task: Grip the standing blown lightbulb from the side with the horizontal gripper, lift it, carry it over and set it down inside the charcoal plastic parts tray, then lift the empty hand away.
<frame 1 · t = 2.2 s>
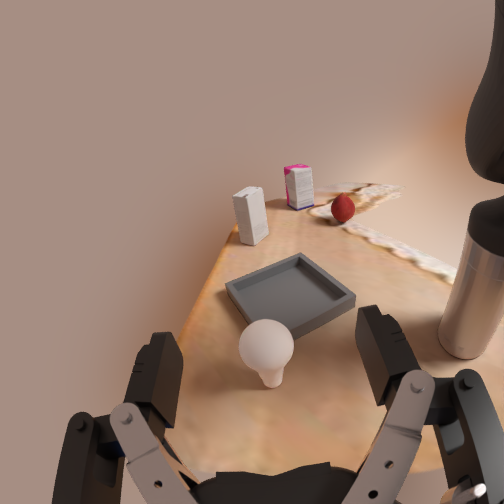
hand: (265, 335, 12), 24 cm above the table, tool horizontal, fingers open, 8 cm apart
supplement box: (300, 205, 81), on the table
parts tray: (288, 300, 49), on the table
lightbulb: (273, 383, 35), on the table
onion: (343, 223, 69), on the table
skincare box: (255, 239, 69), on the table
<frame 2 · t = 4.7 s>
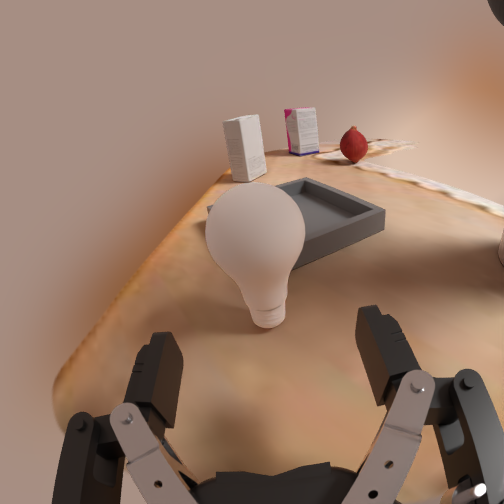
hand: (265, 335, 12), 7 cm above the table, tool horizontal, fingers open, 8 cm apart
supplement box: (304, 153, 68), on the table
parts tray: (291, 225, 35), on the table
lightbulb: (270, 325, 22), on the table
onion: (354, 163, 56), on the table
skincare box: (250, 178, 56), on the table
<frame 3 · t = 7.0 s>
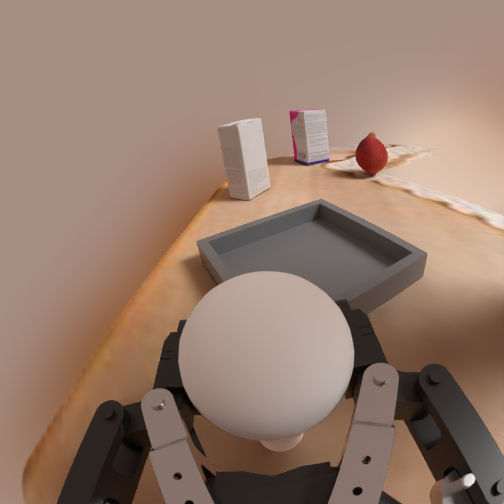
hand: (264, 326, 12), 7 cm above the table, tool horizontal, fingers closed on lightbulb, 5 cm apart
supplement box: (312, 161, 60), on the table
parts tray: (306, 269, 27), on the table
lightbulb: (281, 437, 14), on the table, touching gripper
onion: (371, 176, 48), on the table
skincare box: (251, 194, 47), on the table
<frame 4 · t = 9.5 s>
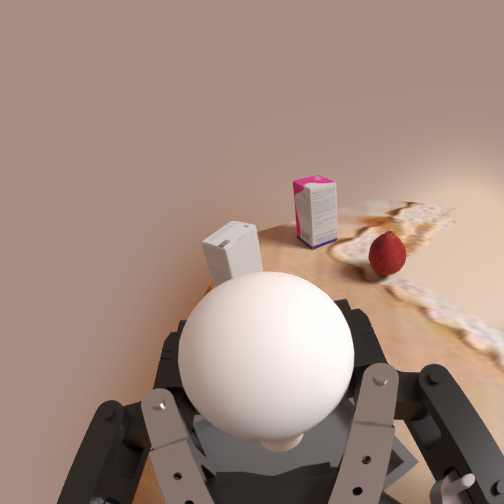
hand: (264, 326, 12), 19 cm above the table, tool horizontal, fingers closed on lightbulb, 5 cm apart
supplement box: (317, 239, 54), on the table
parts tray: (294, 457, 22), on the table
lightbulb: (281, 438, 14), point 12 cm above the table, touching gripper
onion: (384, 275, 42), on the table
skincare box: (245, 306, 42), on the table
when the fingers open (8 cm above the table, at t = 12.2 s): lightbulb stays where it is, resting on parts tray.
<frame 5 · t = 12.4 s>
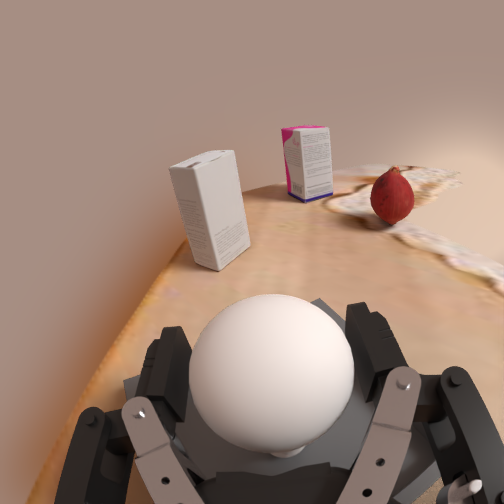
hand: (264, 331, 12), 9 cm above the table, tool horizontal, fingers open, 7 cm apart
supplement box: (310, 195, 48), on the table
parts tray: (282, 445, 15), on the table
lightbulb: (286, 444, 14), resting on parts tray
onion: (390, 225, 35), on the table
skincare box: (223, 257, 35), on the table
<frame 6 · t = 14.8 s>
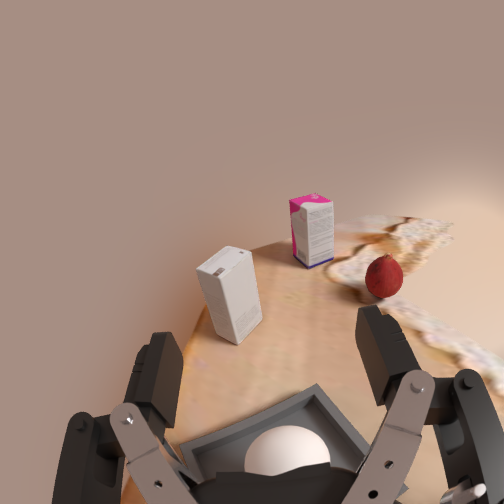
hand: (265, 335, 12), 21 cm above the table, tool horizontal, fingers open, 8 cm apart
supplement box: (313, 258, 54), on the table
parts tray: (289, 482, 21), on the table
lightbulb: (291, 482, 21), resting on parts tray
onion: (381, 297, 42), on the table
skincare box: (240, 329, 41), on the table
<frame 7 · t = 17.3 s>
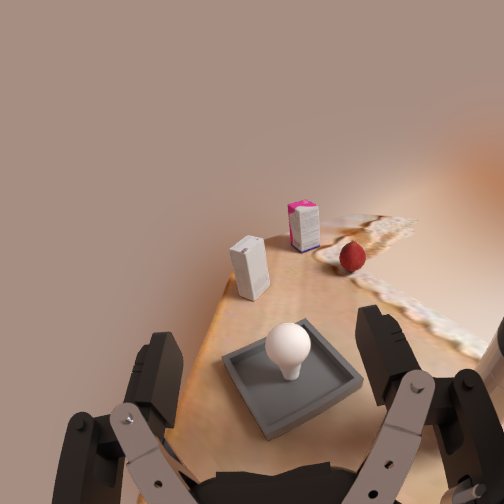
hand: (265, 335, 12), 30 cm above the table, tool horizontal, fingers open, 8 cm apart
supplement box: (305, 246, 75), on the table
parts tray: (290, 378, 42), on the table
lightbulb: (291, 377, 42), resting on parts tray
onion: (351, 271, 63), on the table
skincare box: (255, 292, 62), on the table
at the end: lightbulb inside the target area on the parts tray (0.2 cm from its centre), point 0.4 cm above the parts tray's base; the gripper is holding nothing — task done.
